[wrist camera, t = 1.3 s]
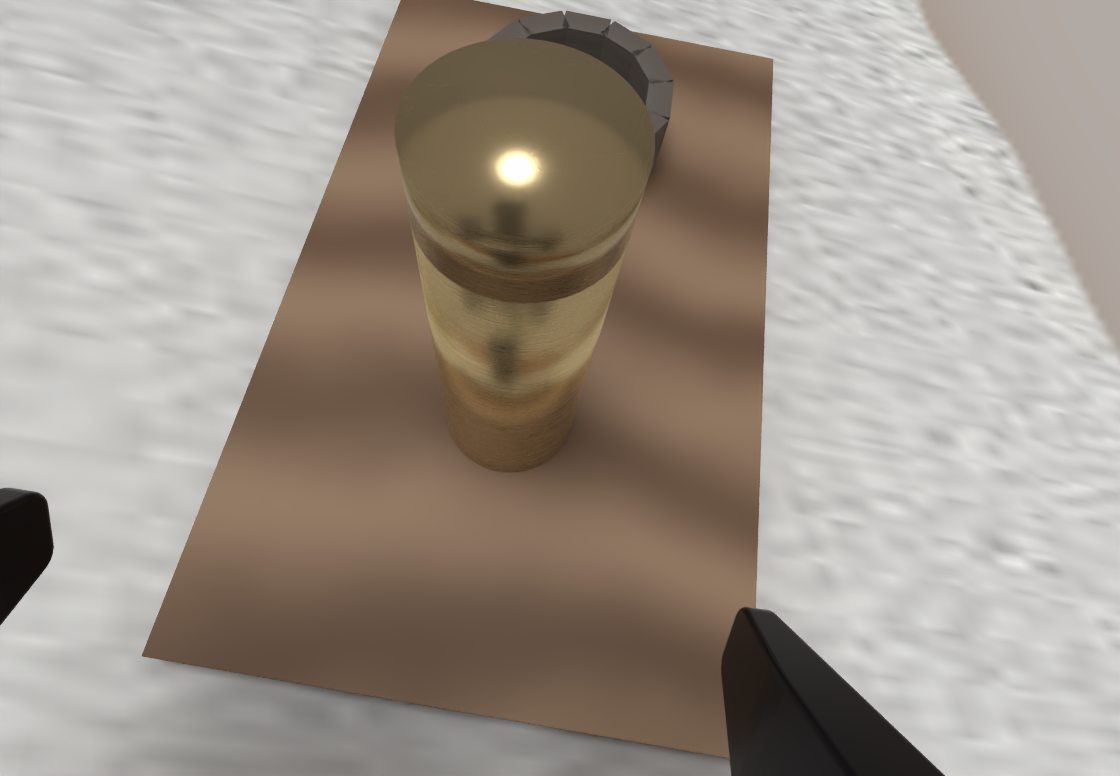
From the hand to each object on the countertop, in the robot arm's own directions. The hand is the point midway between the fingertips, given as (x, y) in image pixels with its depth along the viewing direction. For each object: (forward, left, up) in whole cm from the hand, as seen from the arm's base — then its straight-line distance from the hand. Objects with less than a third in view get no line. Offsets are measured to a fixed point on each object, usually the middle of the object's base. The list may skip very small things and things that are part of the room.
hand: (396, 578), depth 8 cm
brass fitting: (+4, -6, -13) cm, 14 cm away
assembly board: (+7, -11, -14) cm, 19 cm away
